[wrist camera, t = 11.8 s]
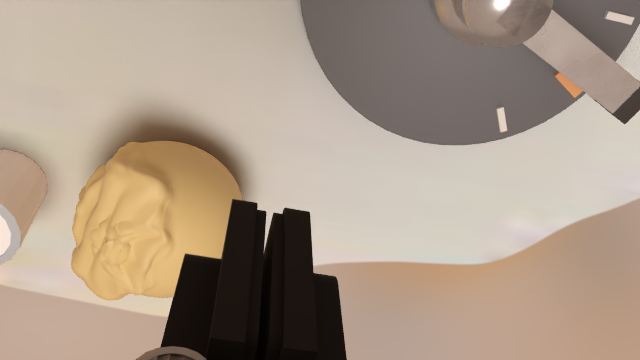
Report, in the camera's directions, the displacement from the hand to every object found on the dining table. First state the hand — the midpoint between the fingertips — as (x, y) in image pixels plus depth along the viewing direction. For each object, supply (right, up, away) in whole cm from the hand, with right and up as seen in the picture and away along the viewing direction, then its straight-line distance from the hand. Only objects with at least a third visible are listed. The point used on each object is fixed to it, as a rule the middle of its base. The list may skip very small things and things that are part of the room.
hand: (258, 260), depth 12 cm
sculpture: (-11, +1, +35) cm, 37 cm away
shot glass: (-23, +2, +34) cm, 41 cm away
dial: (+15, +13, +27) cm, 33 cm away
